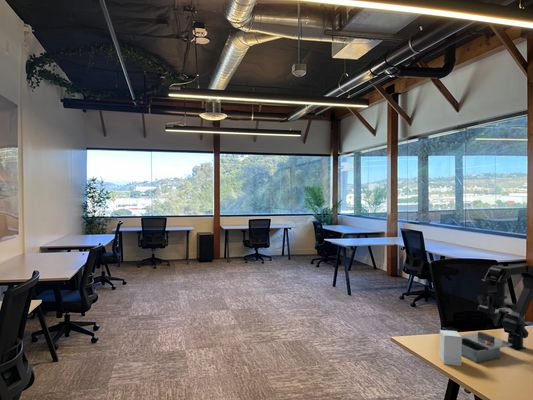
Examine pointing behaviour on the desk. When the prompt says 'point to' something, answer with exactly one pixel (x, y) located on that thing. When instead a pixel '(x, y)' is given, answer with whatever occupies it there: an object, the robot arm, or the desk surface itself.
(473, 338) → the lid
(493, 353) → the grey open box
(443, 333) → the supplement box
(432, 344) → the desk surface
